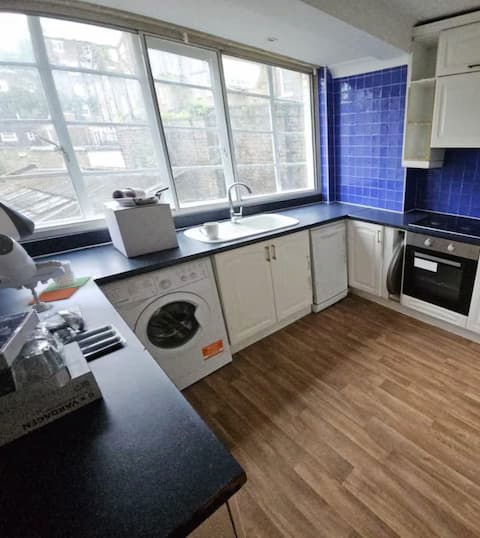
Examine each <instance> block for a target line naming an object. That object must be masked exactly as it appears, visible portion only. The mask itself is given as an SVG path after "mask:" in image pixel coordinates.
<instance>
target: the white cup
mask: <svg viewBox="0 0 480 538" xmlns="http://www.w3.org/2000/svg"><path fill="white" fill-rule="evenodd" d="M59 261H60V262H61V264H62V266H63V268H64V270H65V275H63V276H60V277H56V278H51V280H52V281H53V283H54V282H55V284H56V286H57V287H65V286H69V285H72V284H74V283H76V282H77V280H76V279H77V278H76V274H75V271H74V268H73V266H72V263H71V261H70V260H69V259H67V260H66V259H65V260H59Z"/></svg>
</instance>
